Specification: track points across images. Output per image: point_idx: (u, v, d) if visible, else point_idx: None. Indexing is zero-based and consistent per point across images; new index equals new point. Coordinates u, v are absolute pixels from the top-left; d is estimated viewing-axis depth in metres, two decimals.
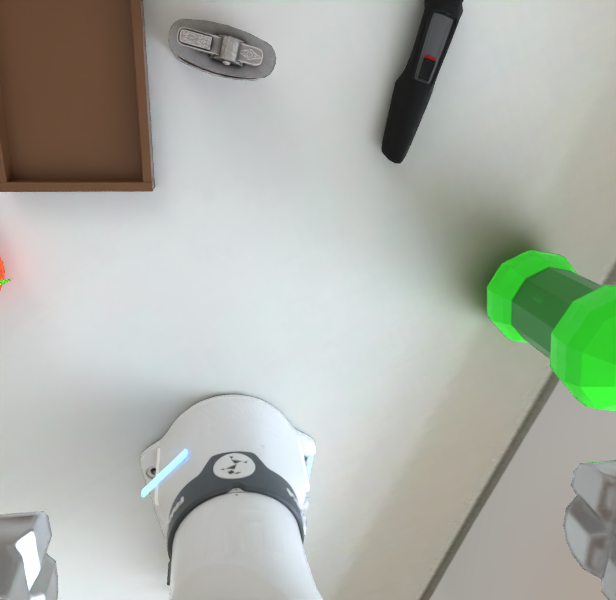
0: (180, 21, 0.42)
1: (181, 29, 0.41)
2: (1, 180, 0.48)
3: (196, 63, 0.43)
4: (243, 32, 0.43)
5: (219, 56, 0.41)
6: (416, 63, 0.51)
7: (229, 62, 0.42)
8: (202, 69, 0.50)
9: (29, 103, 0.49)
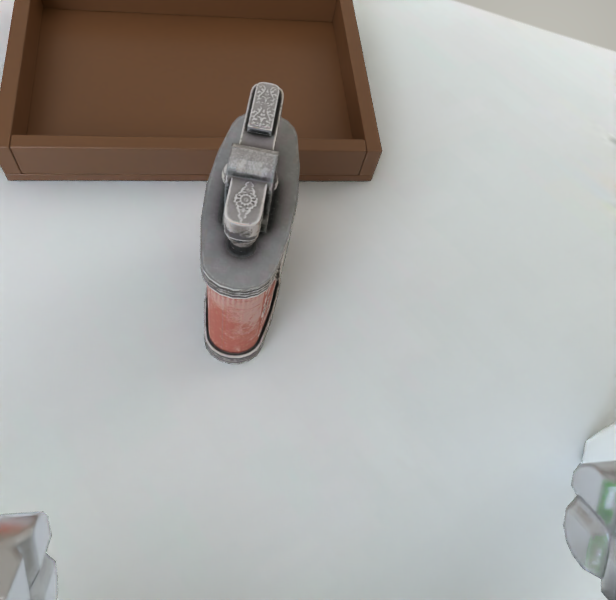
0: (292, 129, 0.23)
1: (278, 89, 0.21)
2: None
3: (221, 149, 0.22)
4: (288, 228, 0.21)
5: (236, 143, 0.19)
6: None
7: (226, 172, 0.20)
8: None
9: (154, 38, 0.34)
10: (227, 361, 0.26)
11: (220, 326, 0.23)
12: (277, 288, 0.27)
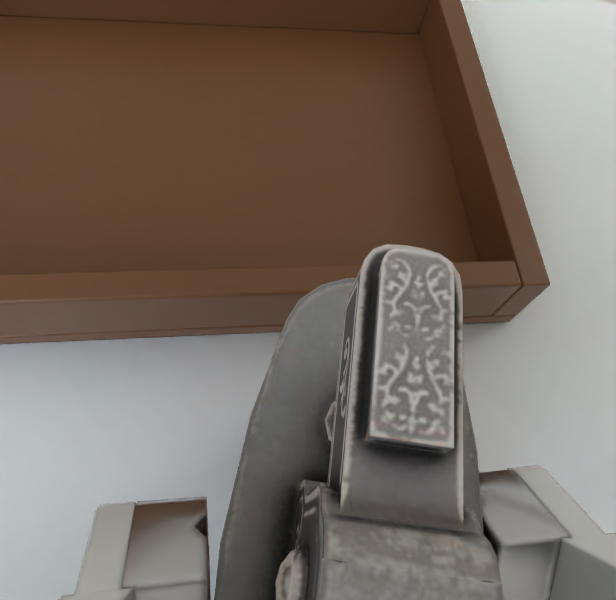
0: None
1: None
2: None
3: (260, 408, 0.08)
4: None
5: (334, 519, 0.05)
6: None
7: None
8: None
9: (123, 64, 0.19)
10: None
11: None
12: None
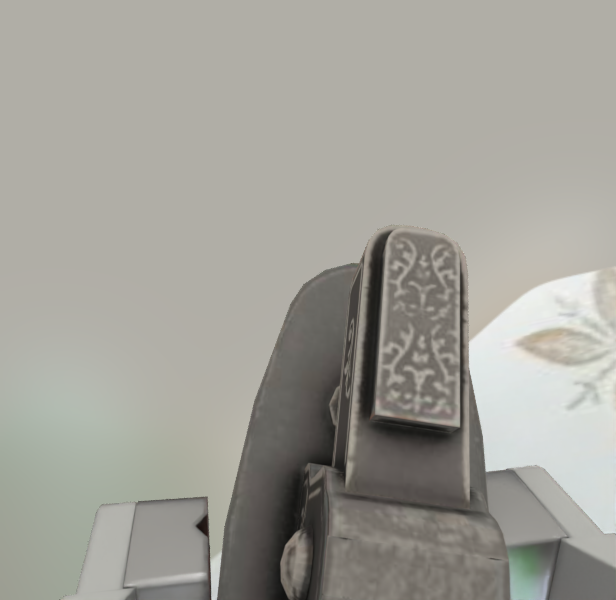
0: None
1: None
2: None
3: (264, 393, 0.08)
4: None
5: (340, 497, 0.05)
6: None
7: (300, 589, 0.05)
8: None
9: None
10: None
11: None
12: None
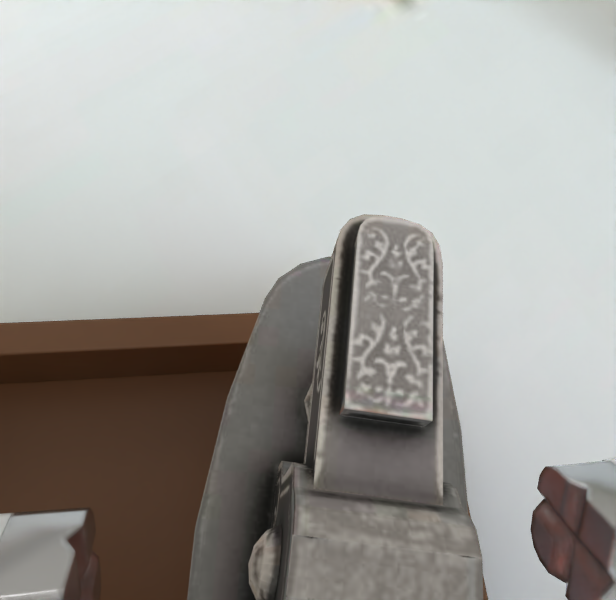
0: None
1: None
2: None
3: (237, 389, 0.08)
4: None
5: (306, 495, 0.05)
6: None
7: (268, 590, 0.05)
8: None
9: None
10: None
11: None
12: None
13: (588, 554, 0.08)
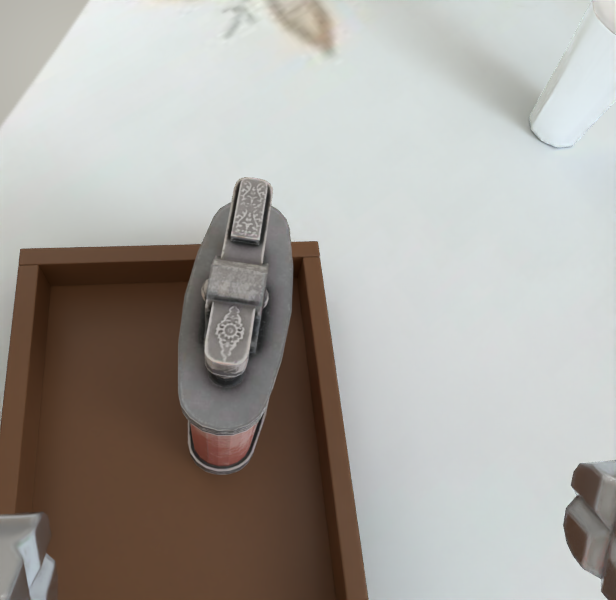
0: (283, 221, 0.20)
1: (267, 184, 0.18)
2: None
3: (201, 250, 0.19)
4: (281, 346, 0.18)
5: (217, 258, 0.16)
6: None
7: (206, 291, 0.17)
8: None
9: (89, 543, 0.21)
10: (215, 473, 0.23)
11: (205, 448, 0.20)
12: None
13: None
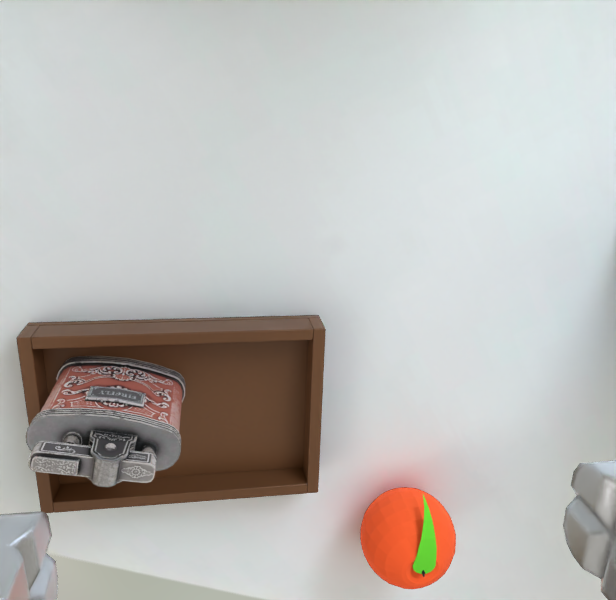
0: (41, 419, 0.30)
1: (33, 455, 0.29)
2: (305, 488, 0.41)
3: None
4: (132, 422, 0.31)
5: (92, 480, 0.29)
6: None
7: None
8: None
9: (216, 448, 0.41)
10: None
11: None
12: (130, 365, 0.37)
13: None
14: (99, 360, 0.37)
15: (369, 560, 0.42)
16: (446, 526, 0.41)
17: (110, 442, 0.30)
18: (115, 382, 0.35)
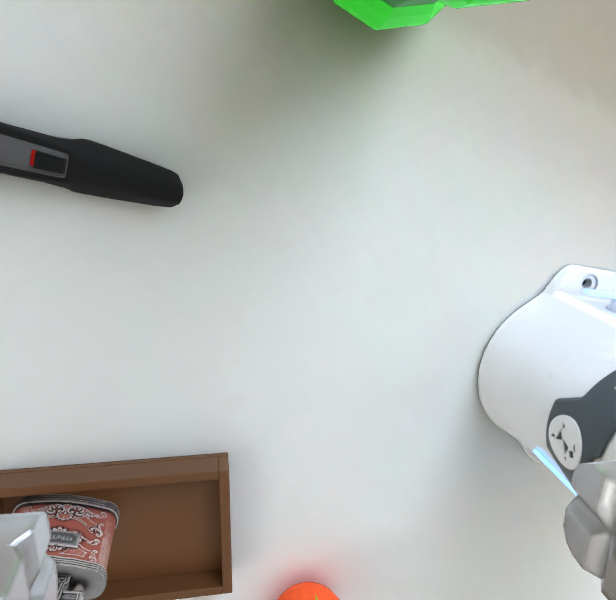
0: None
1: None
2: (221, 590, 0.50)
3: None
4: (66, 566, 0.40)
5: None
6: (44, 176, 0.37)
7: None
8: None
9: (148, 558, 0.50)
10: (118, 517, 0.48)
11: None
12: (72, 502, 0.46)
13: None
14: (46, 499, 0.46)
15: None
16: None
17: None
18: (57, 522, 0.44)
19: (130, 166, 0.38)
